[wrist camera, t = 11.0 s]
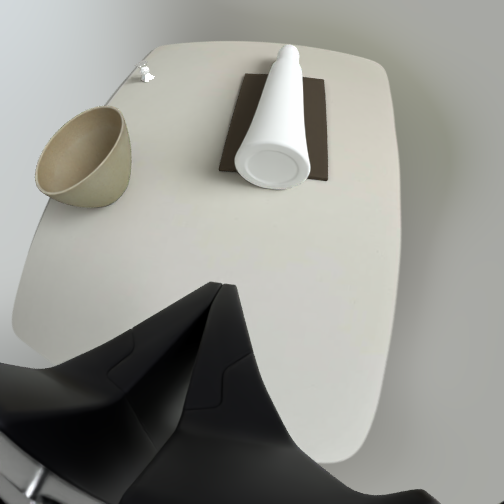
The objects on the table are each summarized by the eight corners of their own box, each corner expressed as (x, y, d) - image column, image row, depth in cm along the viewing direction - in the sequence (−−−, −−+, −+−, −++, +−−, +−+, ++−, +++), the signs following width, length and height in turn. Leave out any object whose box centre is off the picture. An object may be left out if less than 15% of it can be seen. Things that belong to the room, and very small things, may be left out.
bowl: (96, 248, 23) (50, 217, 16) (63, 194, 26) (27, 161, 19) (170, 177, 25) (143, 127, 18) (124, 136, 28) (98, 94, 21)
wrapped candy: (148, 74, 32) (143, 60, 29) (153, 76, 32) (148, 61, 29) (140, 80, 32) (134, 65, 29) (145, 82, 31) (139, 67, 29)
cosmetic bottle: (303, 195, 24) (308, 71, 32) (316, 149, 18) (314, 36, 26) (235, 185, 24) (266, 65, 32) (232, 137, 18) (267, 30, 26)
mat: (327, 181, 24) (327, 178, 23) (219, 171, 25) (218, 168, 25) (323, 81, 29) (323, 79, 28) (245, 75, 30) (245, 73, 30)
